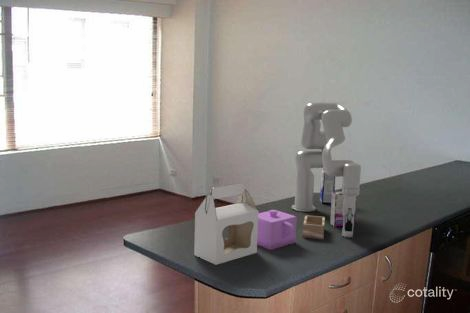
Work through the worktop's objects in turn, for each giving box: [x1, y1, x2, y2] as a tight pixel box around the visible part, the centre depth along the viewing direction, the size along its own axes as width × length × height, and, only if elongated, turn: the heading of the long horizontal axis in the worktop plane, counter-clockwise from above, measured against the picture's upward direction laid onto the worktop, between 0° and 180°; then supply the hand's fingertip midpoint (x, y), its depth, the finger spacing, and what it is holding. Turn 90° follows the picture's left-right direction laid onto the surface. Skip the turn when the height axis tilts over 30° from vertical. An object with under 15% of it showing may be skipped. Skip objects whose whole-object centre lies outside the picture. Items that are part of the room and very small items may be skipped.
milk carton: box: [319, 168, 336, 205], centre depth 288 cm, size 7×7×20 cm
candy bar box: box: [329, 190, 358, 228], centre depth 247 cm, size 11×5×16 cm, turn 105°
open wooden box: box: [302, 214, 326, 240], centre depth 233 cm, size 15×9×6 cm, turn 169°
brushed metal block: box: [341, 215, 354, 238], centre depth 231 cm, size 4×4×9 cm
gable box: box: [193, 182, 259, 266], centre depth 202 cm, size 22×13×28 cm, turn 133°
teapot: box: [257, 209, 298, 251], centre depth 220 cm, size 15×25×14 cm, turn 42°
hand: (348, 228), depth 231 cm, fingers open, 9 cm apart
